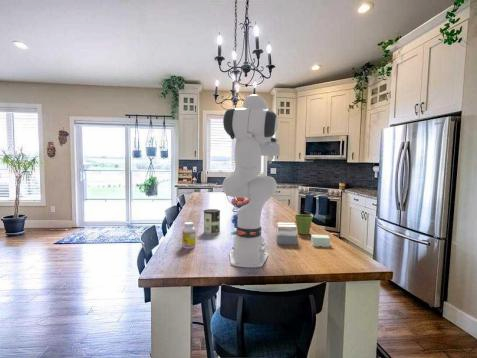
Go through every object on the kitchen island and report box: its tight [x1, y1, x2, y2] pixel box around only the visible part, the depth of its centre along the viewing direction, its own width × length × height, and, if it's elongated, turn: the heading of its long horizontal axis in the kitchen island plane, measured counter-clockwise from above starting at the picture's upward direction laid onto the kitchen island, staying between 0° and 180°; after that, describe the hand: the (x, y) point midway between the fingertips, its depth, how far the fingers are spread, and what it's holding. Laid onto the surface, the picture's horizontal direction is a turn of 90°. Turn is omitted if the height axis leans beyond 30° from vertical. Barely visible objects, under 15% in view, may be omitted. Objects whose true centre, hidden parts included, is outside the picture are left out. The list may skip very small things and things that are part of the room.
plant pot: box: [294, 213, 314, 235], centre depth 170 cm, size 12×12×11 cm
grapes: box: [231, 212, 238, 228], centre depth 174 cm, size 12×7×12 cm, turn 98°
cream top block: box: [276, 221, 297, 236], centre depth 153 cm, size 10×10×5 cm
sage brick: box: [310, 234, 331, 248], centre depth 147 cm, size 6×9×5 cm, turn 84°
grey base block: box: [275, 230, 298, 246], centre depth 153 cm, size 11×11×5 cm
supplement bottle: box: [181, 221, 196, 250], centre depth 140 cm, size 7×7×13 cm
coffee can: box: [203, 208, 221, 236], centre depth 169 cm, size 10×10×14 cm
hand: (261, 163), depth 155 cm, fingers open, 8 cm apart
